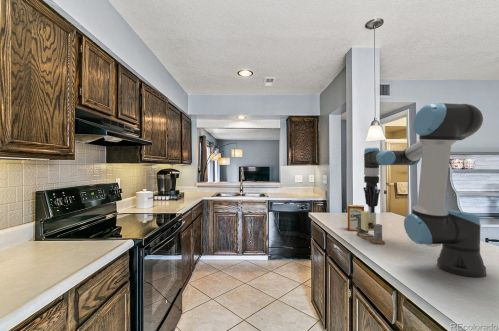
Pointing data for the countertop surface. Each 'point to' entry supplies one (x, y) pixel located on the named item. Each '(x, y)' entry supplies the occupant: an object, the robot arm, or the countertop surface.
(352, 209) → the baking soda box
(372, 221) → the pale yellow block
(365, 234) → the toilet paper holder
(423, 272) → the countertop surface
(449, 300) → the countertop surface
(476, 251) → the robot arm
